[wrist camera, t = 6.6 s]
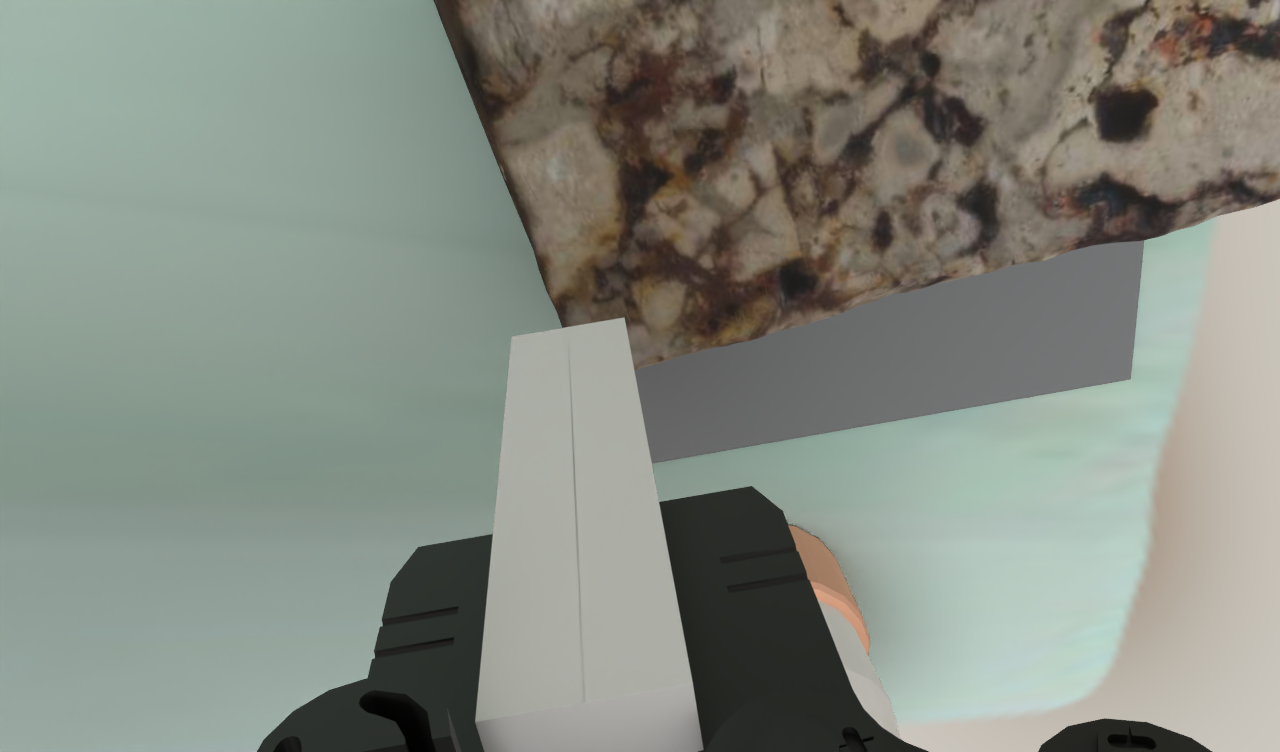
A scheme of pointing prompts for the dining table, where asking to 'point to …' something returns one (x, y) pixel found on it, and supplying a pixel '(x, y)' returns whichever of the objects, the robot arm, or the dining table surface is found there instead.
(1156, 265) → the dining table surface
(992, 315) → the mat
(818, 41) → the stone block
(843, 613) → the salt shaker
